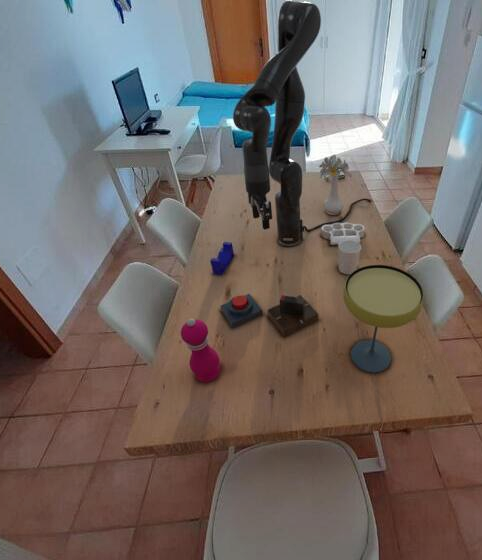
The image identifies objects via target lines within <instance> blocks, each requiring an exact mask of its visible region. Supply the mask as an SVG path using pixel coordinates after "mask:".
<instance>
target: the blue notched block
mask: <svg viewBox="0 0 482 560" xmlns="http://www.w3.org/2000/svg"><path fill="white" fill-rule="evenodd" d="M234 257H235V252H234V246H233V242H230V241H223V243H222V247H221V248H220V250H219V251H218V255H217V257H216V258H215V257H211V258H210V265H211V269H212V273H213V275H219V276H222V275H223V274H224V272H225V270H226V269H227V267H228V266H229V264H230V263H231V262H232V260H233V259H234Z"/></svg>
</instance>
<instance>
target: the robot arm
mask: <svg viewBox="0 0 482 560" xmlns="http://www.w3.org/2000/svg"><path fill="white" fill-rule="evenodd" d="M277 18H278V19H277V53H275V54H274V55H273V56H272V57H271V58H270V59H268V61H266V63H265V64H264V65H263V67H262V68H261V70H260V72H259V74H258V76H257V77H256V80H255V81H254V84H253V85H252V86H251V88H250V89H248V90H247V91H246V92H245V93H244V94H243V96H242V97H241V98H240V99H239V100H238V101H237V103H236V104H235V106H234V108H233V112H232V121H233V124H234V126H235V127H236V128H237V129H238V130H240V131H242V132H247V133H252V134H251V135H252V136H251V139H247V140H245V141H243V143H242V147H241V148H242V157H243V174H244V183H245V191H246V193H247V198H248V204H249V205H250V208H251V211H252V218H253V219H260V217H261V223H262V229H263V230H264V231H265V230H269V229H270V228H271V225H270V224H271V223H270V221H271V220H273V210H272V209H273V208H272V202H271V200H269V201H268V197H267V194H268V193H270V191H271V180H273V181H274V182H276V183H277V184H280V191H278V192H276V193H275V195H274V202H275V203H274V205H275V218H276V229H277V242H278V244H279V245H281V246H283V247H294V246H298V245H299V244H300V243H301V241H303V240H304V237H303V236H304V235H303V233H304V232H305V231H306V232H307V233H308V232H309V233H310V232H312V231H313V230H317V229H318V228H319V229H320V227H321V228H322V226H324V225H331V224H333V223H341V222H342V221H344V220H345V219H347V217H348V216H349V214H350V213H351V211H352V207H353V206H354V205H356V204H357V203H360V202H363V201H367V202H369V203H370V202H371V201H372V200H371V199H369V198H360V199H358V200H355V201H354V202H352V203H350V205H349V210H348V211H347V212H346V214H345V215H344V216H343V217H342V218H340V219H338V220H334V221H328V222H324V223H321V224H318V225H316V226H315V227H313V228H311V229H308V227H307V226H305V225H303V219H302V218H301V197H302V195H303V194H302V193H303V169H302V166H301V164H300V163H299V162H297V161H296V160H293V159H291V146H292V142H293V138H294V136H295V135H296V133H297V131H298V129H299V128H300V126H301V123H302V121H303V118H304V113H305V104H306V92H305V87H304V85H303V82H302V79H301V76H300V74H299V71H298V67H297V66H298V64H299V63H300V61H301V60H302V59H303V58H304V56H305V55H306V54H307V52H308V51H309V50H310V48H311V47H312V46H313V44H314V43H315V41H316V39H317V38H318V36H319V34H320V31H321V25H322V15H321V11H320V9H319V7H318V6H317V5H316V4H315V3H313V2H308V1H300V0H299V1H297V0H285V1H284V2H283V3H282V4H281V6H280V8H279V12H278V17H277ZM274 104H275V106H274V125H273V135H272V136H273V137H272V146H271V150H270V151H271V152H270V157H269V160H268V143H269V137H270V133H271V127H272V117H271V115H270V112H269V110H268V108H266V107H271V106H273V105H274ZM268 161H269V162H268ZM270 178H271V180H270Z"/></svg>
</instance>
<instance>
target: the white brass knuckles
mask: <svg viewBox="0 0 482 560" xmlns="http://www.w3.org/2000/svg"><path fill="white" fill-rule="evenodd" d="M365 229H366V228H365V226H364V225H363V224H361V223H351V222H337V223H333V224H327V225H323V226H321V229H320V230H321V231H320V233H321V237H322V238H324V239H326V240H329V244H330V245H331V246H333V245H334V246H335V245H337V246H338V245H339V243H340V242H342V241H345V240H353V241H356V242H358V243H359V244H360V245H361V238H363V237H364V236H365Z"/></svg>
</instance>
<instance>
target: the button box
mask: <svg viewBox="0 0 482 560" xmlns="http://www.w3.org/2000/svg"><path fill="white" fill-rule="evenodd" d="M240 296H245V297H246V298H247V302H248V305H247V306H246V307H245V308H243V309H235V308H234V307H233V303H232V300H233V299H234V298H235V297H236V296H233V297H232V298H231V299H230V300H229V301H228V302H226V303H223V304H220V306H219V307H220V310H221V312H222V314H223V315H224V317H225V318H226V320H227V322H228V323H229V325H230V326H231V328H232V329H234V328H235V329H236V328H237V327H239V326H242V325H243V324H246V323H249V322H250V321H253V320H254V319H257V318H259V317H261V316H263V315H264V313H263V309H262V308H261V306H260V305H259V304H258V302H257V301H256V299H254V298H253V296H252V295H251V293H247V294H243V295H240Z"/></svg>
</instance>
